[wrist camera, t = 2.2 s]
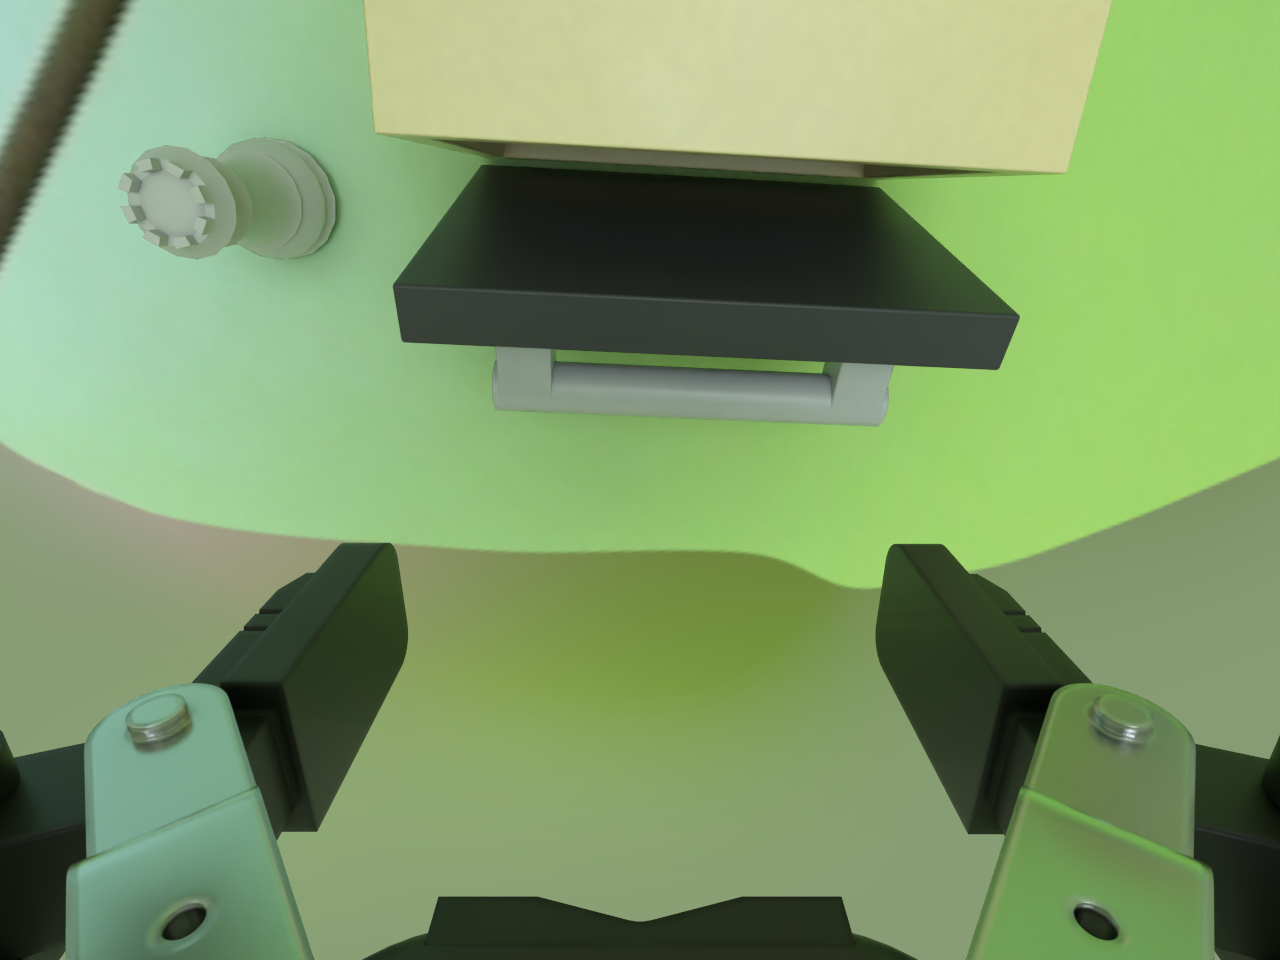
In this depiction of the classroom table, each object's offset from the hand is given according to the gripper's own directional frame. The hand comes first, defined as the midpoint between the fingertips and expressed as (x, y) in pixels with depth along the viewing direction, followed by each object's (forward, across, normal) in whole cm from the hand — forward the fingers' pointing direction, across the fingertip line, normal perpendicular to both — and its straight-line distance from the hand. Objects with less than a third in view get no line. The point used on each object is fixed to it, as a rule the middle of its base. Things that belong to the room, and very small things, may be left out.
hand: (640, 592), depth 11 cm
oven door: (+21, -2, -5) cm, 21 cm away
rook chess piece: (+20, +14, -6) cm, 26 cm away
